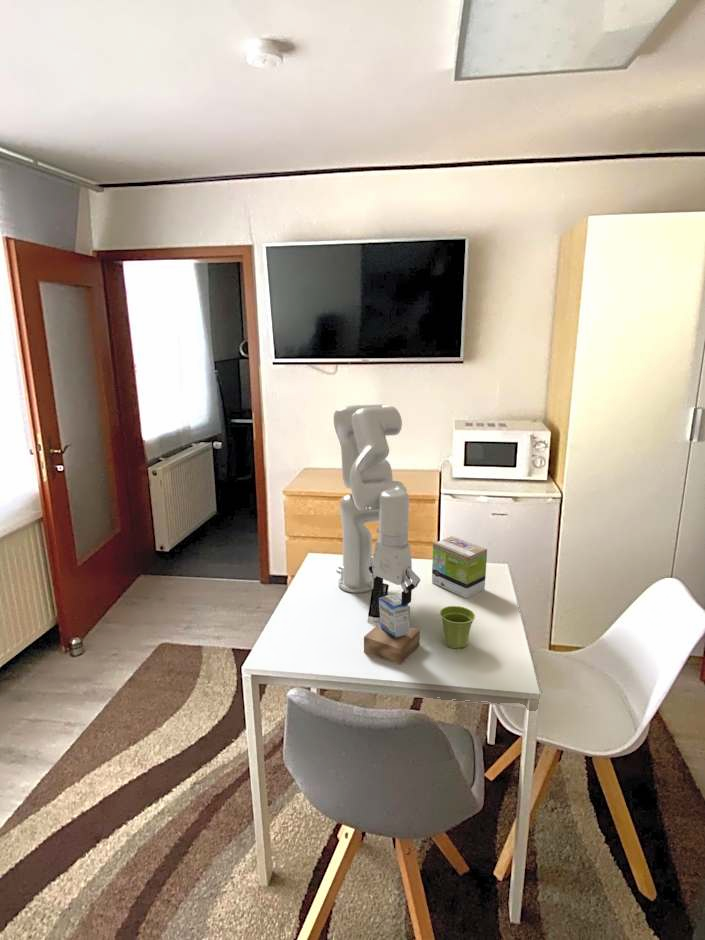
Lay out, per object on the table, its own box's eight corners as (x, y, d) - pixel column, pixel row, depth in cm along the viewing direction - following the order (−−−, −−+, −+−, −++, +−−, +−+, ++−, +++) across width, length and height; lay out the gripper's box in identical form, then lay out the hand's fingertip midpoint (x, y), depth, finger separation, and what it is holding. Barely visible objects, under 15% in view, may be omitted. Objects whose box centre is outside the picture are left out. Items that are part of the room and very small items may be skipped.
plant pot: (446, 630, 163) (447, 602, 161) (478, 639, 158) (479, 610, 156) (433, 646, 155) (434, 617, 153) (466, 655, 151) (467, 626, 149)
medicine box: (380, 628, 156) (377, 597, 154) (393, 623, 158) (391, 593, 156) (396, 638, 149) (393, 606, 148) (410, 633, 151) (408, 602, 150)
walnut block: (363, 653, 153) (363, 636, 151) (384, 634, 162) (384, 618, 160) (400, 666, 147) (400, 648, 146) (419, 646, 156) (419, 629, 155)
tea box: (430, 583, 192) (431, 542, 189) (450, 575, 199) (451, 535, 195) (466, 599, 181) (468, 556, 177) (485, 590, 187) (488, 547, 184)
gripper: (358, 532, 150) (358, 591, 155) (410, 552, 138) (408, 614, 143) (377, 524, 155) (376, 581, 160) (429, 543, 144) (426, 603, 149)
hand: (391, 597), depth 152 cm, fingers open, 9 cm apart
